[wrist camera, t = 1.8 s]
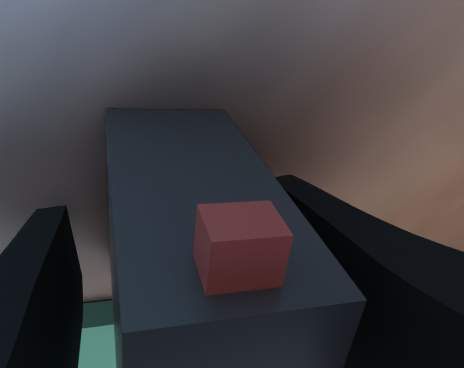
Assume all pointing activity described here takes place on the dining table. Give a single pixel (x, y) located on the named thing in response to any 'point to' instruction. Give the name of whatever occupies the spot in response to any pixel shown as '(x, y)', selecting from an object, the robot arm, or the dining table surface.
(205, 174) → the dark grey upright block
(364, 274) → the robot arm
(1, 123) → the dining table surface
